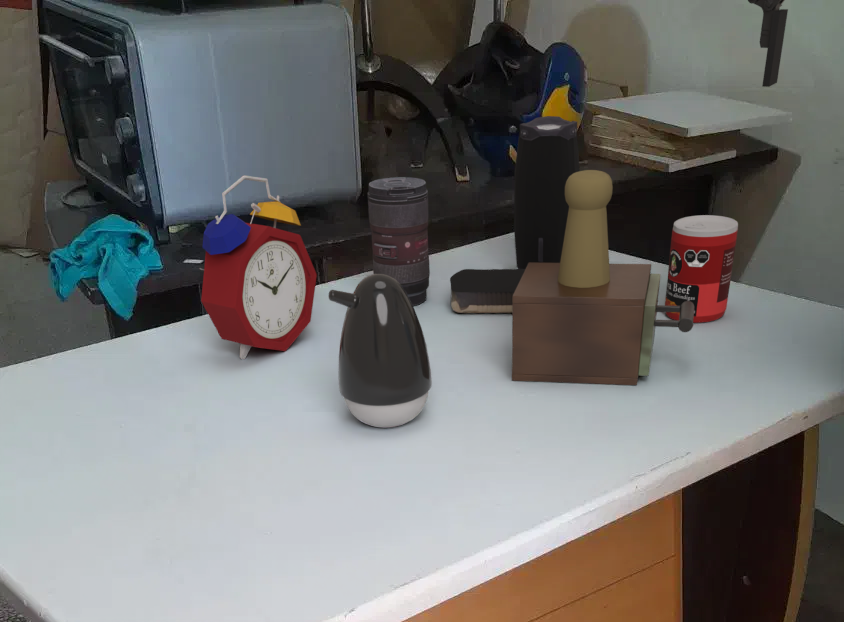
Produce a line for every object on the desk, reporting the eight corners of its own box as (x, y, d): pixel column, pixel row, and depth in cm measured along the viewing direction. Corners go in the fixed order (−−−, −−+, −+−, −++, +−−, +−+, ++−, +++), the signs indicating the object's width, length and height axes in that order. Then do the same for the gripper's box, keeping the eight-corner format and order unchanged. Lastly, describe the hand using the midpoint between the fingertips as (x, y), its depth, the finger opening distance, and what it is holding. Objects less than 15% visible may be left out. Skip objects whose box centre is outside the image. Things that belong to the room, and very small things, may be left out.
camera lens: (438, 304, 142) (434, 185, 132) (382, 312, 140) (374, 192, 130) (423, 288, 148) (418, 172, 138) (369, 295, 146) (360, 179, 136)
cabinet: (643, 346, 126) (651, 263, 120) (636, 385, 117) (644, 298, 111) (527, 342, 129) (528, 262, 123) (511, 380, 120) (512, 296, 113)
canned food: (653, 309, 136) (662, 219, 129) (707, 301, 137) (718, 211, 130) (681, 327, 130) (692, 234, 123) (736, 318, 132) (750, 226, 125)
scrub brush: (570, 295, 142) (571, 267, 139) (566, 316, 135) (567, 287, 133) (455, 295, 144) (454, 268, 142) (446, 315, 138) (445, 287, 136)
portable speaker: (531, 263, 154) (535, 113, 141) (586, 271, 150) (594, 117, 137) (501, 278, 149) (502, 124, 136) (556, 287, 145) (563, 129, 132)
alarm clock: (246, 370, 127) (217, 192, 113) (198, 357, 131) (165, 184, 118) (324, 333, 135) (305, 164, 122) (277, 323, 139) (254, 158, 126)
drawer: (689, 341, 124) (698, 274, 119) (686, 377, 116) (695, 306, 110) (544, 337, 127) (546, 271, 122) (531, 372, 119) (533, 302, 114)
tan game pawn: (548, 276, 118) (551, 170, 111) (594, 268, 119) (601, 162, 112) (572, 290, 114) (577, 181, 106) (619, 282, 115) (628, 173, 108)
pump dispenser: (330, 410, 116) (314, 268, 106) (416, 394, 118) (408, 254, 108) (355, 444, 109) (340, 296, 99) (446, 427, 111) (441, 280, 101)
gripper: (1039, -198, 90) (967, 84, 104) (762, -176, 101) (730, 77, 115) (1025, -199, 85) (952, 97, 99) (736, -176, 96) (706, 88, 110)
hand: (833, 87), depth 107 cm, fingers open, 13 cm apart
